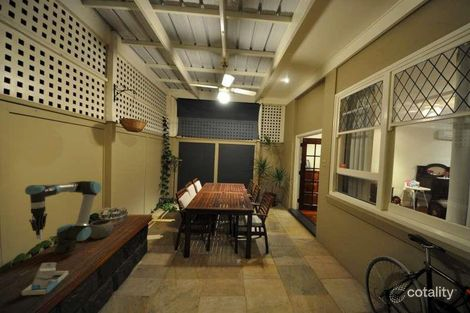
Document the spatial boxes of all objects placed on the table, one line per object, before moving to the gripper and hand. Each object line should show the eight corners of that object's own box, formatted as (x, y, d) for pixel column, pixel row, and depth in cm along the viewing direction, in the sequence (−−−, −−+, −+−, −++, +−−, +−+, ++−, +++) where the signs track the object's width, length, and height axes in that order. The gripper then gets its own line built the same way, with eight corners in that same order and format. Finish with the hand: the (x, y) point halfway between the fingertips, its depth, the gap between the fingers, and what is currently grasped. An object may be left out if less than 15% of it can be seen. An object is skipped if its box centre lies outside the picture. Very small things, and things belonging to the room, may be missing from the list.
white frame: (48, 274, 145) (48, 270, 144) (69, 273, 146) (69, 269, 146) (21, 295, 124) (21, 289, 124) (46, 294, 126) (46, 288, 126)
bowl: (117, 232, 219) (117, 219, 219) (100, 241, 197) (100, 227, 196) (100, 230, 223) (100, 217, 223) (81, 239, 201) (81, 225, 200)
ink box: (31, 290, 125) (41, 266, 128) (30, 286, 128) (41, 263, 131) (48, 288, 131) (58, 265, 134) (47, 284, 134) (57, 262, 137)
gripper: (39, 204, 147) (41, 234, 148) (24, 210, 134) (25, 243, 136) (51, 204, 148) (52, 234, 150) (36, 210, 135) (37, 242, 137)
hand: (39, 238), depth 143 cm, fingers closed
